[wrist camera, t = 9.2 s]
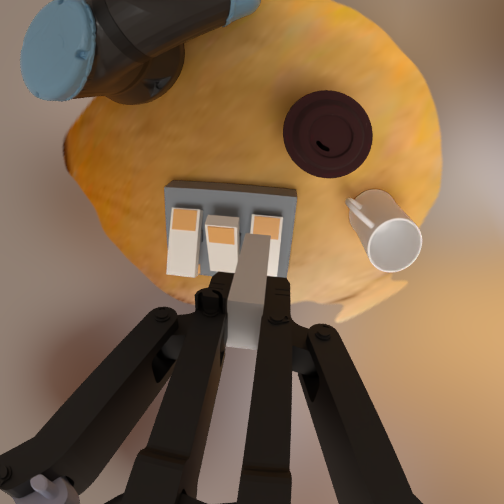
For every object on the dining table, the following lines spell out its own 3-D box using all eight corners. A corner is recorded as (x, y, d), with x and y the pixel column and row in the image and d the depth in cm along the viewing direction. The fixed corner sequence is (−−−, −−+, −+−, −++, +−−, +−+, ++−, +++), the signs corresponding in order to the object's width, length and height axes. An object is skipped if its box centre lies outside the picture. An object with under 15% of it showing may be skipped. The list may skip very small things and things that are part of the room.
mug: (324, 203, 48) (335, 234, 37) (359, 164, 44) (382, 185, 34) (372, 246, 50) (391, 284, 40) (406, 211, 47) (434, 243, 36)
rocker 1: (175, 208, 46) (171, 207, 44) (203, 210, 46) (199, 209, 44) (170, 272, 47) (166, 274, 45) (197, 275, 47) (194, 277, 45)
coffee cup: (334, 85, 39) (358, 78, 26) (357, 145, 43) (388, 166, 30) (272, 106, 41) (268, 108, 28) (297, 165, 45) (303, 194, 32)
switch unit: (172, 180, 48) (161, 189, 44) (296, 189, 47) (297, 199, 43) (176, 259, 55) (167, 274, 51) (285, 271, 54) (285, 287, 50)
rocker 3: (252, 214, 45) (251, 214, 43) (282, 217, 45) (283, 217, 43) (246, 280, 47) (245, 283, 45) (275, 283, 46) (275, 286, 44)
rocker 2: (207, 214, 42) (204, 225, 41) (239, 217, 42) (236, 228, 41) (212, 261, 50) (210, 271, 48) (239, 263, 49) (237, 274, 48)
